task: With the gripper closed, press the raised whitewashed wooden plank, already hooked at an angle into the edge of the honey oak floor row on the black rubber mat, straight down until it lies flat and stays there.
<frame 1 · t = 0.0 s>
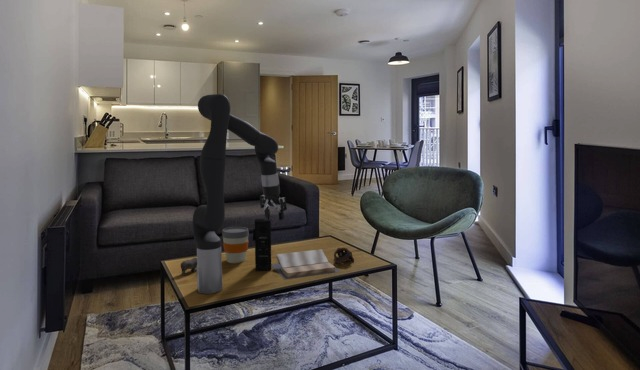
hand: (274, 218, 194), 22 cm above the table, tool pointing down, fingers open, 8 cm apart
rhino figurine: (193, 271, 191), on the table
portable radio: (262, 269, 193), on the table
pottery mug: (343, 262, 204), on the table
reusable coffee cup: (236, 260, 206), on the table
underlay mat: (304, 268, 194), on the table
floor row: (309, 271, 189), resting on underlay mat
plank: (302, 259, 196), point 3 cm above the table, hinge at 25.0°
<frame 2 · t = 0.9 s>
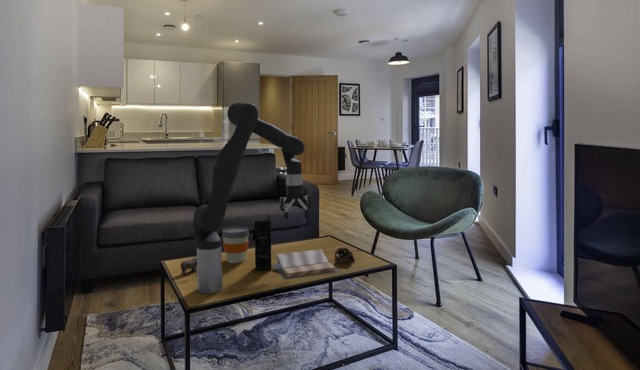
hand: (296, 218, 197), 22 cm above the table, tool pointing down, fingers open, 8 cm apart
nothing on the table moved.
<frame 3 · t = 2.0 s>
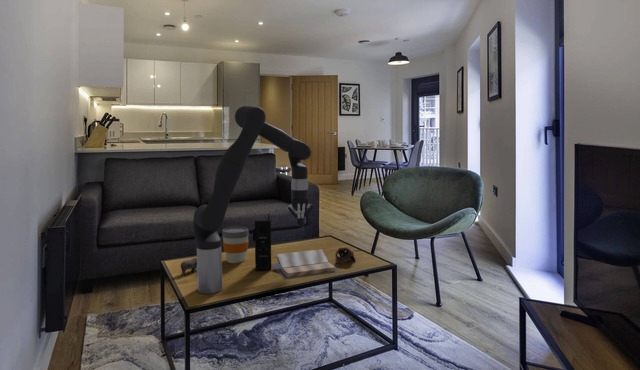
hand: (300, 225, 197), 18 cm above the table, tool pointing down, fingers closed
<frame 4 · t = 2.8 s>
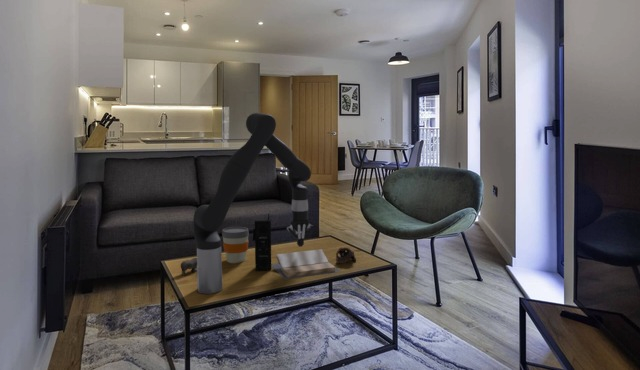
hand: (300, 246, 198), 9 cm above the table, tool pointing down, fingers closed
nothing on the table moved.
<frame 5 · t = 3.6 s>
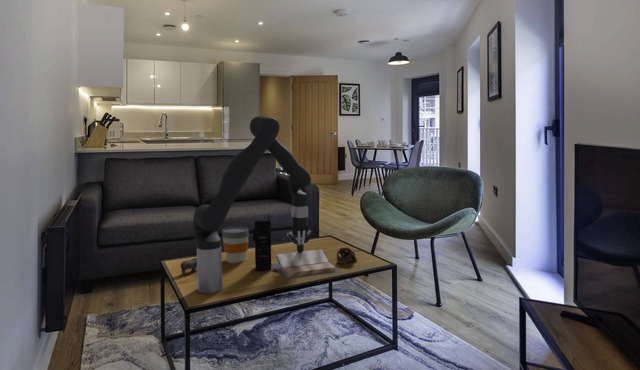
hand: (300, 252, 199), 6 cm above the table, tool pointing down, fingers closed
plank: (302, 259, 196), point 3 cm above the table, hinge at 24.3°, touching gripper
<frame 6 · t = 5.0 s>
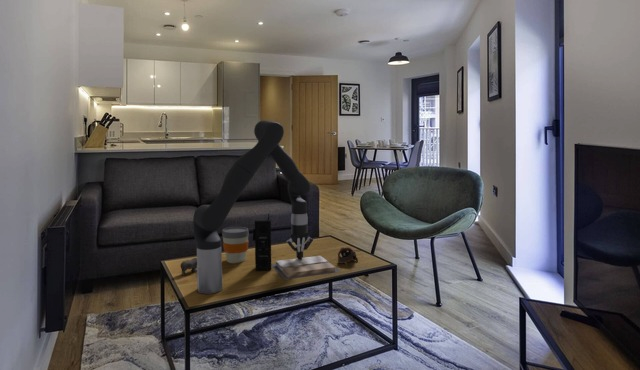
hand: (299, 258, 200), 2 cm above the table, tool pointing down, fingers closed
plank: (301, 263, 197), point 1 cm above the table, hinge at 1.1°, touching gripper
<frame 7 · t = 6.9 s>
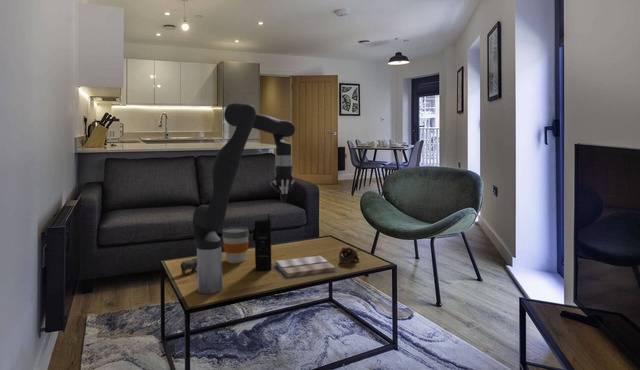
hand: (283, 201, 203), 28 cm above the table, tool pointing down, fingers closed
plank: (301, 263, 197), point 1 cm above the table, hinge at 1.0°
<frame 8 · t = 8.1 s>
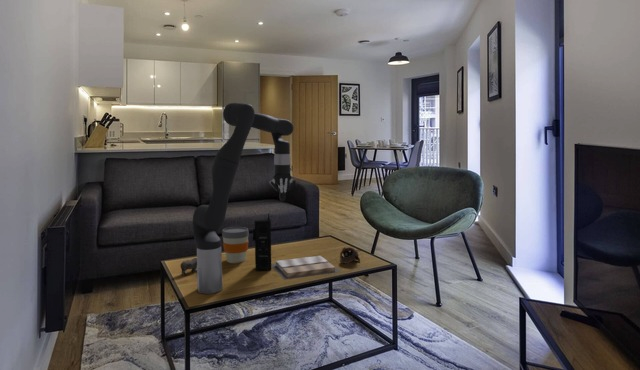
hand: (282, 200, 203), 29 cm above the table, tool pointing down, fingers closed
at the end: plank at +1° (first picture: +25°) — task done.
